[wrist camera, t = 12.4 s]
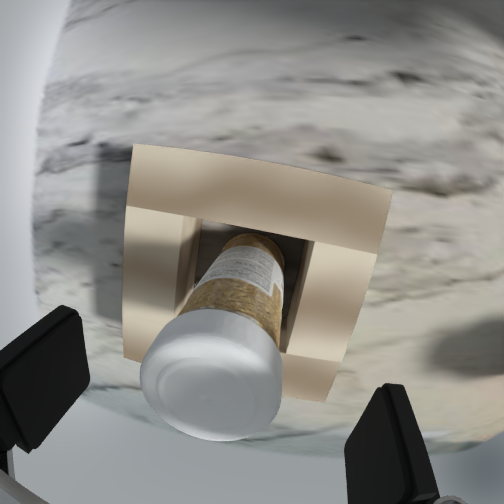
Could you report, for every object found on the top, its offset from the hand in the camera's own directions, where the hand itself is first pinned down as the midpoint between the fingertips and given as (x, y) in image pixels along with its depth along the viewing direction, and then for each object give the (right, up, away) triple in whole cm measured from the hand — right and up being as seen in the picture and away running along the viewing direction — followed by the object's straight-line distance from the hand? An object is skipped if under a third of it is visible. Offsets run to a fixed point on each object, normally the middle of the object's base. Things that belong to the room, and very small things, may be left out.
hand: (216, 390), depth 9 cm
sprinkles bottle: (+1, +3, +13) cm, 14 cm away
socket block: (+1, +3, +13) cm, 13 cm away
